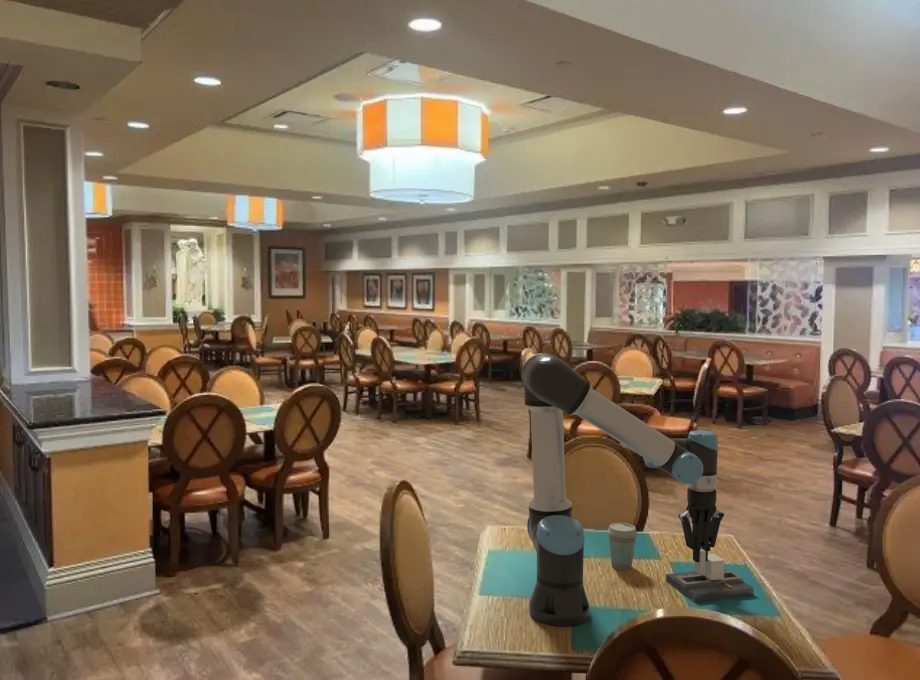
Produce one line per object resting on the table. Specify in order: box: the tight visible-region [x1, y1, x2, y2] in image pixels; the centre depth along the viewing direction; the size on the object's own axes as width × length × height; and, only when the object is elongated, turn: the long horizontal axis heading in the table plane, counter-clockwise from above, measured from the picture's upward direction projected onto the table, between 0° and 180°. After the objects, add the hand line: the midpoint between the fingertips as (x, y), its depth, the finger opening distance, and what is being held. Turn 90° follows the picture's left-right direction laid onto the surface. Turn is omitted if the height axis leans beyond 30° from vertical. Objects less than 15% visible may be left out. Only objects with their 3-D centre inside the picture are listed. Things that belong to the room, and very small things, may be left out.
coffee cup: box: [607, 522, 638, 571], centre depth 214 cm, size 8×9×12 cm
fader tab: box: [704, 553, 725, 580], centre depth 199 cm, size 4×5×6 cm
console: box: [665, 569, 755, 603], centre depth 199 cm, size 18×14×3 cm
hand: (699, 572), depth 198 cm, fingers closed
